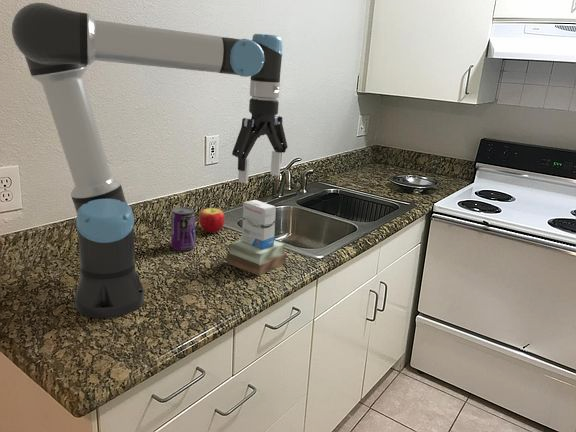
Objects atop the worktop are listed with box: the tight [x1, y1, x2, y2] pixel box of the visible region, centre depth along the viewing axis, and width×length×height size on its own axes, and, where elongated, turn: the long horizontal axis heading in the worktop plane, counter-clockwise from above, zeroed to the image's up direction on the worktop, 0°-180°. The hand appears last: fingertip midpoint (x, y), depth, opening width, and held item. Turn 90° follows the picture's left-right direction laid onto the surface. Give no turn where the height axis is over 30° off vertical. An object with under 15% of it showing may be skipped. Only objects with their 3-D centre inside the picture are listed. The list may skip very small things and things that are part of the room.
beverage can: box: [170, 206, 196, 252], centre depth 144 cm, size 7×7×12 cm
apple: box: [198, 202, 226, 234], centre depth 159 cm, size 8×8×10 cm
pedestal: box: [226, 238, 287, 277], centre depth 138 cm, size 12×12×6 cm
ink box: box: [241, 199, 277, 249], centre depth 136 cm, size 8×5×12 cm, turn 49°
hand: (259, 178), depth 131 cm, fingers open, 13 cm apart
